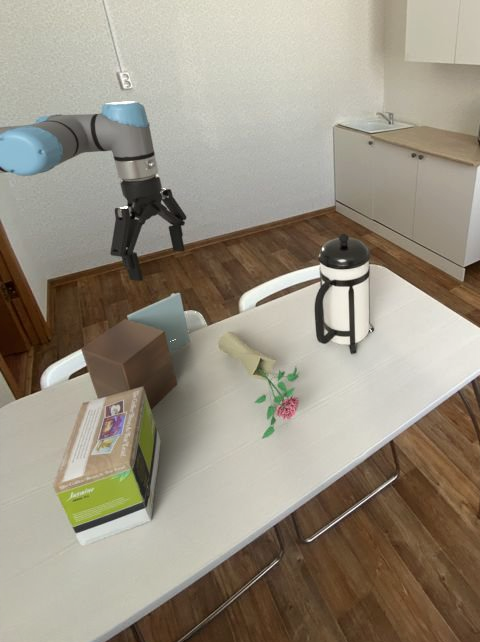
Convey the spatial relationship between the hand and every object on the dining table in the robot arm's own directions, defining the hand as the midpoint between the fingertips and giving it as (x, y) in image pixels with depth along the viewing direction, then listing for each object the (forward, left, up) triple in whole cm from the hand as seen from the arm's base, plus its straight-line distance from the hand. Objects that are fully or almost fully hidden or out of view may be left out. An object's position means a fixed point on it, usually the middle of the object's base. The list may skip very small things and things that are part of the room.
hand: (159, 264), depth 89 cm
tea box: (+15, -30, -26) cm, 42 cm away
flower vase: (+26, -5, -26) cm, 37 cm away
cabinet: (+1, -13, -25) cm, 29 cm away
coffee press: (+40, +16, -26) cm, 50 cm away
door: (-3, -1, -25) cm, 25 cm away
